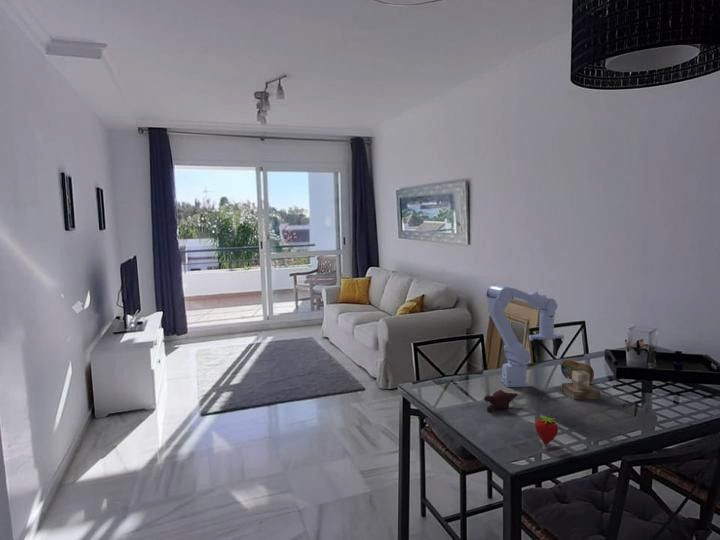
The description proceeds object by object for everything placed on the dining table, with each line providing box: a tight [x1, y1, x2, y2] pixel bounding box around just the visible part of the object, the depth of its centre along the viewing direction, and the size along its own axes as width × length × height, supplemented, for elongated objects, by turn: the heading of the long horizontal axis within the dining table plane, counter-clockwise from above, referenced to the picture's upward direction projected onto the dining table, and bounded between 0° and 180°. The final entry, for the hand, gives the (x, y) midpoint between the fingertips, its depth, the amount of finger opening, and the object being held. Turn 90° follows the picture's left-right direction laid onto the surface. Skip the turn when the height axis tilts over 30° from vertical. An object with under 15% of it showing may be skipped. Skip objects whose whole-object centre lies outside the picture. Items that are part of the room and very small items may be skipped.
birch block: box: [571, 371, 590, 390], centre depth 183 cm, size 4×4×6 cm
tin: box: [560, 359, 595, 384], centre depth 200 cm, size 15×3×8 cm, turn 25°
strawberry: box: [534, 413, 559, 445], centre depth 144 cm, size 6×8×10 cm
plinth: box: [561, 382, 601, 400], centre depth 184 cm, size 10×10×3 cm
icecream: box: [483, 389, 518, 413], centre depth 172 cm, size 7×7×15 cm
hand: (546, 355), depth 201 cm, fingers open, 7 cm apart
